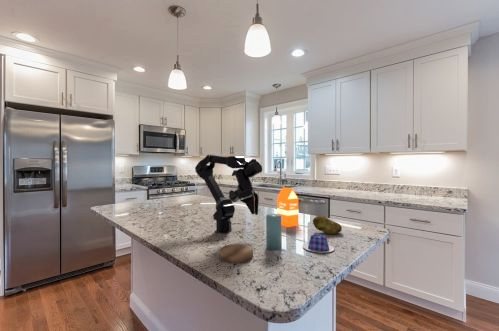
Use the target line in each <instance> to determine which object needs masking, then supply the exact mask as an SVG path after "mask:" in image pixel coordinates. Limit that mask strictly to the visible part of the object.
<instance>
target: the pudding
mask: <svg viewBox="0 0 499 331" xmlns="http://www.w3.org/2000/svg"><path fill="white" fill-rule="evenodd" d="M302 248H303V249H304V250H307V251H310V252H313V253H316V252H317V253H320V254H322V253H331V252H333V251H335V247H334V246H333V245H331V244H329V242H328V238H327V236H326V235H324V234H321V233H313V234H311V235H310V238H309V242H306V243H304V244H303V245H302Z"/></svg>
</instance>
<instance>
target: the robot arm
mask: <svg viewBox="0 0 499 331" xmlns="http://www.w3.org/2000/svg"><path fill="white" fill-rule="evenodd" d="M216 164H220V165H226V167H228V168H231V169H233V171H232V172H231V173H232V174H231V176H232V177H235V178H236V181H237V189H235V190H229V191H228V194H229V195H228V198H226V197H225V195H224V194H223V192H222V189H221V188H220V186H219V184H218V182H217V181H216V179H215V177H214V168H215V166H216ZM262 166H263V165H262V164H261V163H260V162H259V161H257V158H251V159H250V160H249V161H248V160H247V159H246V158H245V156H242V155H230V156H222V155H216V154H207V155H206V156H205V157H204V158H203V159H201V160H200V161H199V162H198V163H197V164H196V166H195V167H194V170H195V173H196V175H197V176H198V178H201V179H202V180H204V182H205V183H206V185H207V186H206V187H207V188H208V191H209V192H210V193H211V196H212V197H213V199H214V201H215V210H216V211H215V212H214V214H213V215H212V217H213V220H215V221H216V223H215V224H216V228H215V230H214V232H215V233H220V234H228V233H230V232H231V231H233V229H232V221H231V219H234V214H235V211H236V208H235V204H234V203H236V202H238V200H240V202H242V203H244V204H245V205H246V207H247V208H248V210H249V212H250V214H251V215H255V216H258V215H259V201H260V196H259V194H258V193H256V192H255V189H254V187H253V182H252V181H251V179H250V178H253V177H255V176H256V175H258V174H260V173H262V172H263V167H262Z"/></svg>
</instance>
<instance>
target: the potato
mask: <svg viewBox="0 0 499 331" xmlns="http://www.w3.org/2000/svg"><path fill="white" fill-rule="evenodd" d="M312 224H313V227H315V229H316V230H318V231H320V232H323V233H325V234H326V235H335V234H339V233H341V232H342V229H343V228H342V225H341V224H340V223H338V222H335V221H333V220H331V219H330V218H328V217H326V216H323V215H317V216H315V217H314V218H313V220H312Z"/></svg>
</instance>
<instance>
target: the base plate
mask: <svg viewBox="0 0 499 331" xmlns="http://www.w3.org/2000/svg"><path fill="white" fill-rule="evenodd" d="M253 258H254V248H253V247H252V246H250V245H248V244H242V243H233V244H232V243H231V244H228V245H223V246H221V248H220V249H219V259H220V260H221V261H223V262H225V263H230V264H241V263H246V262H249V261H251V260H252V259H253Z"/></svg>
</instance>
